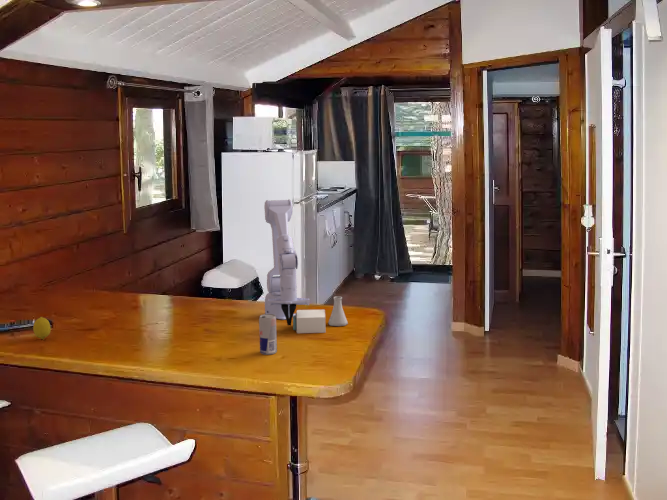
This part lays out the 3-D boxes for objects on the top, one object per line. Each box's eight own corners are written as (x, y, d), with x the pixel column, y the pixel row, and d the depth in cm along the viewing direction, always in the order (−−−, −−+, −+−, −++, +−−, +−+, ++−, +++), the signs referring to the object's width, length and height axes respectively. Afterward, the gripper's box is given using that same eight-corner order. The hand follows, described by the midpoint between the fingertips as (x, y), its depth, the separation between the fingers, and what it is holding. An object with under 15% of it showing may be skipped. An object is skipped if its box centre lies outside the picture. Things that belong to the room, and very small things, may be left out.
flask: (347, 327, 269) (347, 299, 267) (327, 326, 269) (326, 299, 268) (348, 321, 276) (348, 295, 274) (329, 321, 276) (328, 294, 275)
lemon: (54, 338, 260) (53, 315, 258) (43, 342, 255) (42, 319, 253) (41, 336, 261) (39, 314, 260) (30, 341, 256) (28, 318, 255)
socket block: (295, 333, 261) (295, 317, 260) (296, 324, 272) (295, 310, 271) (325, 332, 262) (325, 317, 261) (324, 324, 273) (324, 309, 272)
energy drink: (260, 350, 243) (259, 314, 240) (276, 349, 243) (275, 313, 241) (259, 355, 237) (258, 318, 235) (277, 354, 238) (276, 317, 236)
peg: (293, 329, 265) (293, 318, 264) (293, 326, 269) (293, 315, 268) (316, 329, 265) (315, 318, 264) (315, 326, 269) (315, 315, 268)
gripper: (267, 290, 260) (268, 328, 262) (309, 289, 260) (309, 327, 263) (268, 285, 267) (269, 322, 269) (309, 284, 267) (309, 322, 270)
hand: (289, 324), depth 266 cm, fingers closed
